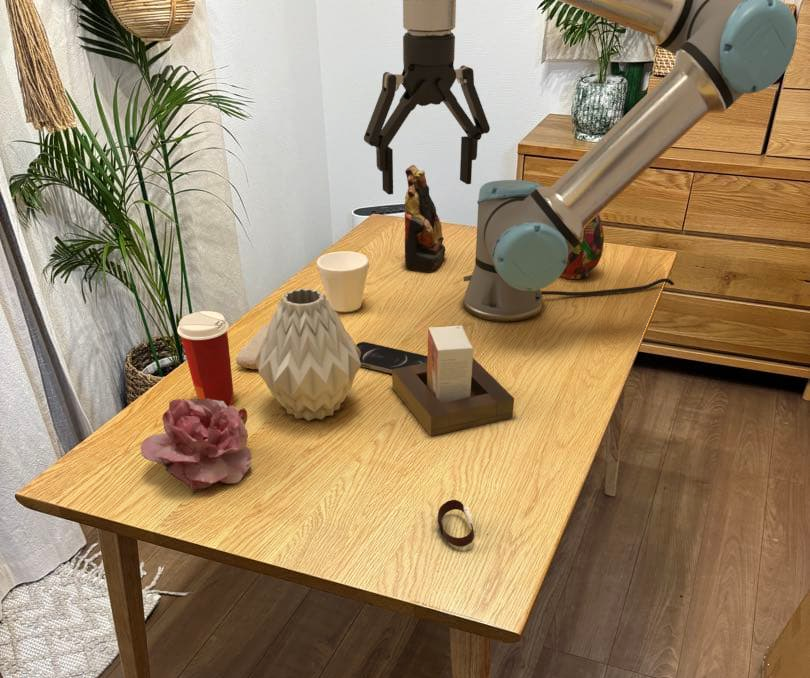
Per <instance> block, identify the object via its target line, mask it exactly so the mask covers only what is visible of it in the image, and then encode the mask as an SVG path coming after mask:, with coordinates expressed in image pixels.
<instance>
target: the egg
mask: <svg viewBox="0 0 810 678" xmlns="http://www.w3.org/2000/svg"><path fill="white" fill-rule="evenodd" d="M604 242H605V235H604V227H603V224H602V219H601V217H600V213H599V214H598V215H597V216H596V217H595V218H594V219H593V220H592V221H590V222H589V223H588V224H587V225H586V227H585V228H584V234H583V241H582V242H581V243H580V244H579V245H578V246H577V247H576V248H575V249H574V250H573V251H571V252H570V253H569V254H568V260H567V264H566V267H565V269H564V271H563V273H562V274H561V276H560V277H562V278H567V279H570V280H579V279H585V278H588V276H589V274H590V272H591V271H592V270H594V269H595V268H596V267H597V266H598V264H599V262H600V261H601V259H602V256H603V251H604Z"/></svg>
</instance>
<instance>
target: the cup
mask: <svg viewBox="0 0 810 678" xmlns="http://www.w3.org/2000/svg"><path fill="white" fill-rule="evenodd" d="M369 267H370V260H369V257H368V256H367V255H365V254H363V253H360V252H355V251H347V250H344V251H343V250H342V251H341V250H340V251H332V252H328V253H325V254H323V255H321V256H319V257H318V259H317V260H316V269H317V271H318V273H319V277H320V279H321V283H322V286H323V289H324V292H325V293H324V294H325V297H326V300H328V302H329V304H330V305H331V307H332V309H334V310H335V311H336V312H337V313H340V314H348V313H353V312H357V311H358V310H360V308H361V307H362V303H363V299H364V298H363V297H364V294H365V293H364V292H365V287H366V282H367V277H368V271H369Z"/></svg>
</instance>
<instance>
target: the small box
mask: <svg viewBox="0 0 810 678" xmlns="http://www.w3.org/2000/svg"><path fill="white" fill-rule="evenodd" d="M426 356H427V387H428V389H429V390H430V391H431V392H432V393H433V394H434V396H435V397H436V398H437V399H438V400H439V401H440V402H441V404H442V403H446V402H450V401H455V400H460V399H464V398H469V397H470V392H471V377H472V362H473V358H474V347H473V345H472V343H471V341H470V340H469V338H468V335H467V333H466V330H465V329H464V326H463V325H446V326H434V327H433V326H431V327H428V328H427V355H426Z"/></svg>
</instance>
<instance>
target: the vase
mask: <svg viewBox="0 0 810 678" xmlns="http://www.w3.org/2000/svg"><path fill="white" fill-rule="evenodd" d="M269 323H270V324H269ZM269 323H268V324H269V328H268V332H267V335H266V337H265V339H264V340H263V342H262V344H261V347H260V349H259V352H258V354H257V357H256V359H255V363H256V365H257V367H258V369H257V370H258V376H260V378H261V379H262V380H263V382H265V384H266V386H267V388H268V389H269V391H270V393H271V395H272V396H273V397H274V398H275V399H276V400H277V401H278V403H279V404H280V405H281V406H282V407H283V408H285V409H286V412H287V414H288V415H294V418H295V420H296V419H305V420H306V421H311V420H313V419H317V420H324V418H325V417H328V416H334V413H335V411H338V410H340V409H341V403H344V401H345V399H346V397H347V396H348V394H349V393H350V391H351V390H352V387H353V384H354V381H355V379H356V375H357V373H358V372H359V370H360V369H361V367H362V366H361V363H360V360H359V359H360V355H361V352H360V350H359V349H358V347H357V346H356V344H357V343H356V342H355V341H354V339H353V338H352V336H351V335H350V333H349V332H348V331H347V330H346V328H345V326H344V324H343V322H342V319H341V318H340V316H339V314H338V312H336V311H335V310H334V309H332V307H331V305H330V304H329V302H328V299H327V297H326V293H322V292H321V290H319V289H318V290H314V288H312V287H311V288H307V289H305V288H303V287H301V288H299V289H291V290H290V292H284V293H283V296H281V297H280V302H278V304H277V308H276V311H275V312H274V313H273V315H271V317H270V321H269Z"/></svg>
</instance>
